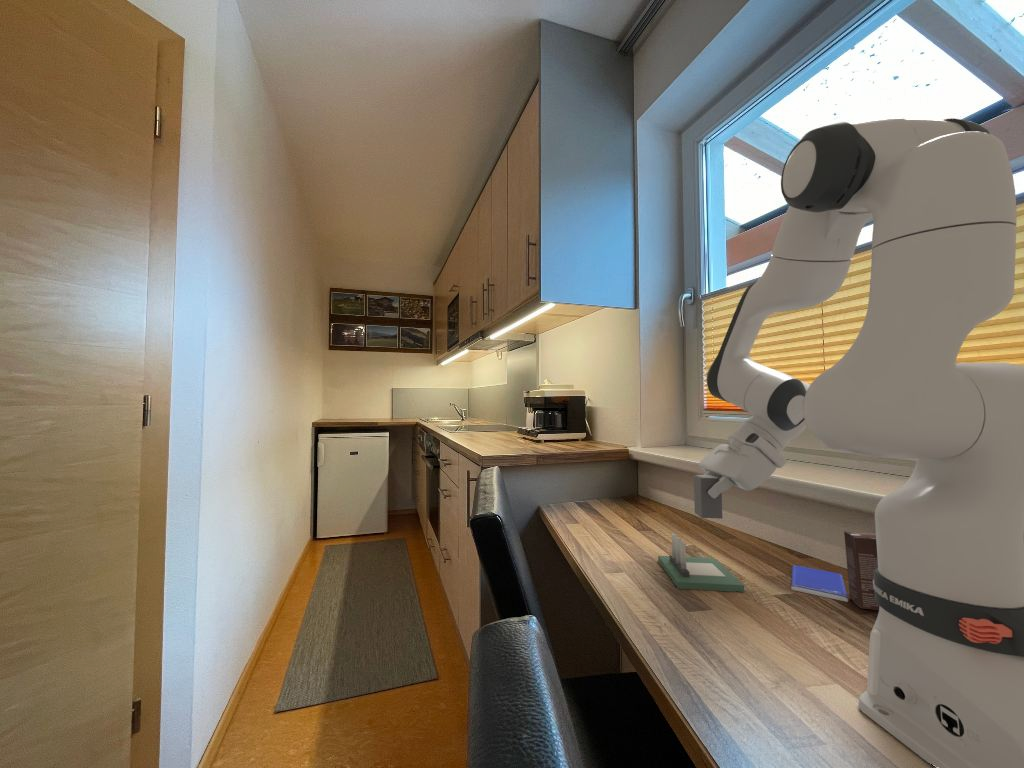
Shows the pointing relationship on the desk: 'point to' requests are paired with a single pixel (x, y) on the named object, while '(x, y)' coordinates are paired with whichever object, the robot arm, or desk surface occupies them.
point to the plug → (706, 497)
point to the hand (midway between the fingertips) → (704, 492)
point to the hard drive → (818, 583)
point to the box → (861, 567)
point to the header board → (697, 571)
